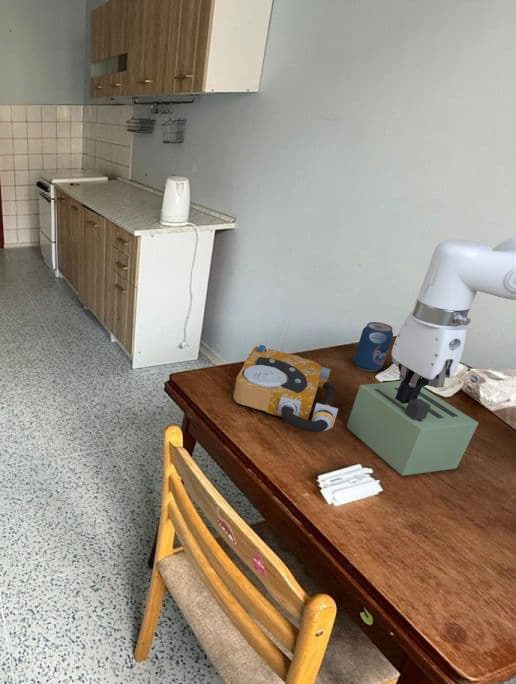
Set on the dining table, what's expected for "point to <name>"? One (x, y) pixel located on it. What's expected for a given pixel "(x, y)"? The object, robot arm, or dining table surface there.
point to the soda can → (373, 346)
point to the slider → (417, 409)
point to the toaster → (410, 430)
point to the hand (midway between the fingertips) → (405, 400)
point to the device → (286, 388)
